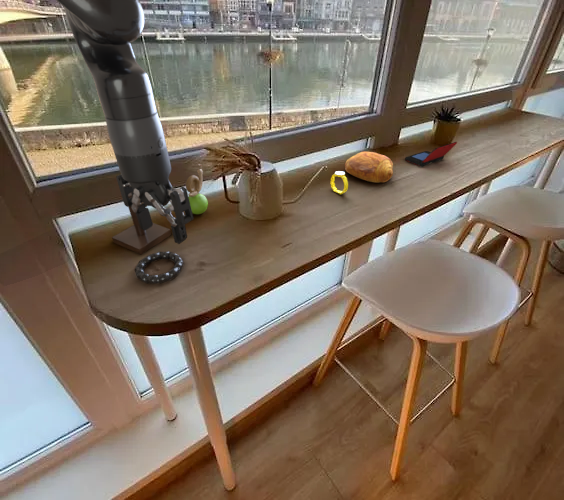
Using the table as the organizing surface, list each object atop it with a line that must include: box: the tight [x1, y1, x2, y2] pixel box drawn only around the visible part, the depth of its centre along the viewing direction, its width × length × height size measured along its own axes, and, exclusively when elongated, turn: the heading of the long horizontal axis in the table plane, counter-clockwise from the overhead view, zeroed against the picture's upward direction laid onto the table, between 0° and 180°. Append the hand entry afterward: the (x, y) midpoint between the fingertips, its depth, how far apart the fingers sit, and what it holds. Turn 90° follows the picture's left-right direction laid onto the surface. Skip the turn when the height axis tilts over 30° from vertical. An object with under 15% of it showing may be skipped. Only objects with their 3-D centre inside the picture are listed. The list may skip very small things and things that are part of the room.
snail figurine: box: [185, 163, 209, 215], centre depth 81 cm, size 5×6×12 cm
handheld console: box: [404, 141, 458, 167], centre depth 111 cm, size 12×11×7 cm
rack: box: [111, 193, 173, 255], centre depth 72 cm, size 9×9×12 cm
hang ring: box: [134, 251, 185, 285], centre depth 66 cm, size 9×9×2 cm
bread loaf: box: [344, 150, 394, 183], centre depth 102 cm, size 14×16×8 cm
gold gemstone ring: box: [329, 170, 349, 195], centre depth 92 cm, size 6×3×6 cm, turn 35°
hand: (163, 234), depth 59 cm, fingers open, 8 cm apart
